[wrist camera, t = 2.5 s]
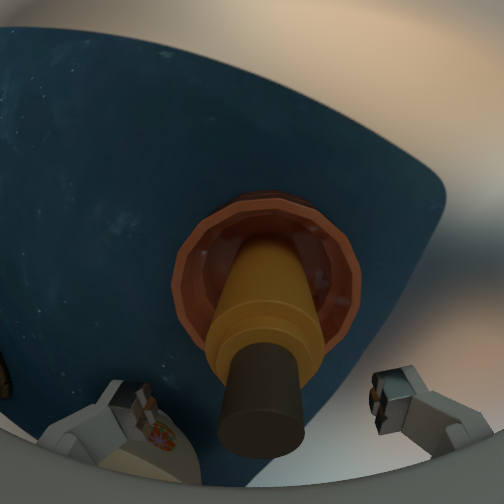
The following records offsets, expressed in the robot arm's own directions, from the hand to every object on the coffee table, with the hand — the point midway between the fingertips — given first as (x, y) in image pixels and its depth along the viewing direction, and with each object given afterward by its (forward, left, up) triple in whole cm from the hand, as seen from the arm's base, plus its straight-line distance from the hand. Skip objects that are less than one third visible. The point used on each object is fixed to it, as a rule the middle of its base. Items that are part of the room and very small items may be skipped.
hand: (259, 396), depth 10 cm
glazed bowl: (0, 0, -14) cm, 14 cm away
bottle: (0, 0, -13) cm, 13 cm away
